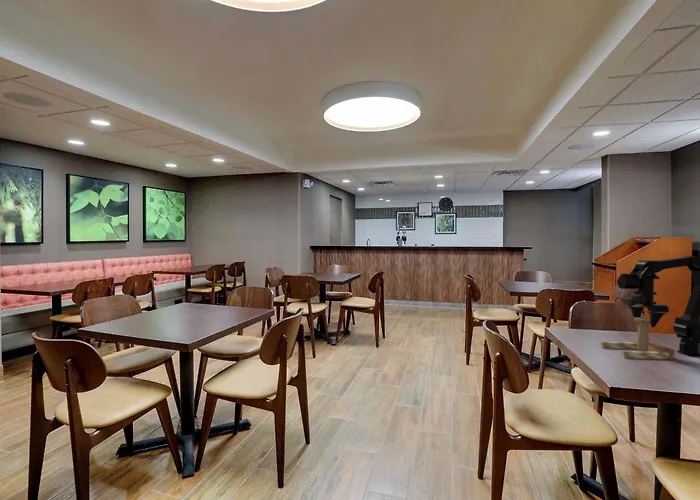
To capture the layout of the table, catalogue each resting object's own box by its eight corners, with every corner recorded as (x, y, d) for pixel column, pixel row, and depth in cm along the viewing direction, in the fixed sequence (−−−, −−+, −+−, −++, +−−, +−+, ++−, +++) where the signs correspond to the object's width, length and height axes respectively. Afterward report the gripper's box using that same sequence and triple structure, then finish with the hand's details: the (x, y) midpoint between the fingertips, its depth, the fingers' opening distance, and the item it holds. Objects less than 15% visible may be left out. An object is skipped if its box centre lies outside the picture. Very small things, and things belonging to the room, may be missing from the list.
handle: (651, 355, 155) (652, 321, 155) (632, 352, 159) (633, 318, 159) (652, 353, 159) (653, 319, 158) (633, 350, 163) (634, 316, 162)
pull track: (645, 348, 166) (645, 339, 166) (674, 359, 150) (674, 349, 150) (600, 346, 168) (600, 338, 168) (624, 358, 152) (624, 348, 152)
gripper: (612, 286, 168) (611, 319, 168) (642, 291, 149) (641, 329, 150) (637, 286, 167) (636, 320, 168) (670, 292, 149) (669, 330, 149)
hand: (644, 324), depth 159 cm, fingers open, 9 cm apart
